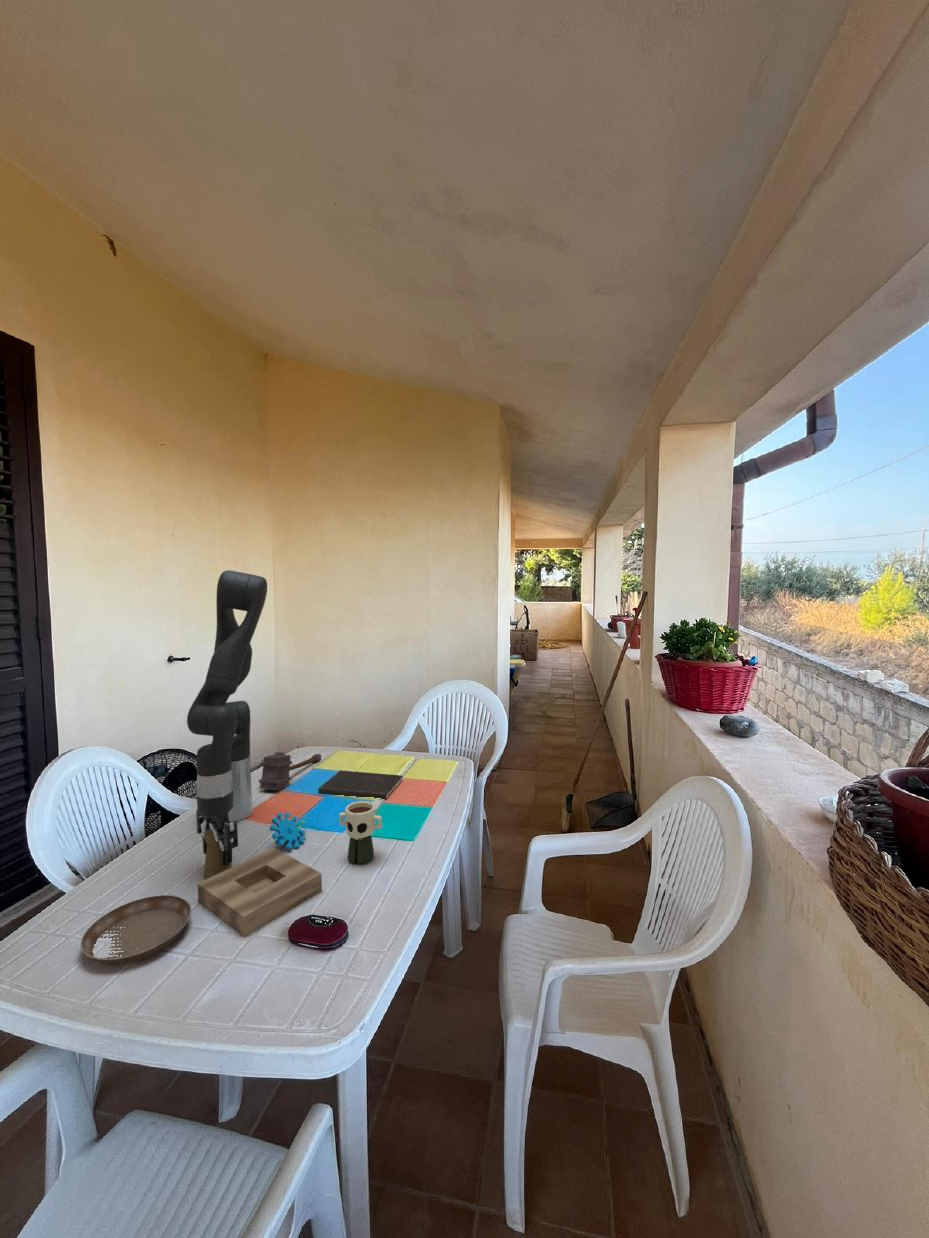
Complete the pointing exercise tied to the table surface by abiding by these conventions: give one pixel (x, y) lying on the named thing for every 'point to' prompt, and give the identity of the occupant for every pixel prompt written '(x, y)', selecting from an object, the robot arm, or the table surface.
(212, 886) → the socket block
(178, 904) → the plant saucer
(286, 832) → the gear
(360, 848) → the character mug
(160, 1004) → the table surface
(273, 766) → the hammer
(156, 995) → the table surface
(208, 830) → the olive knobbed peg
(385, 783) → the hardcover book
